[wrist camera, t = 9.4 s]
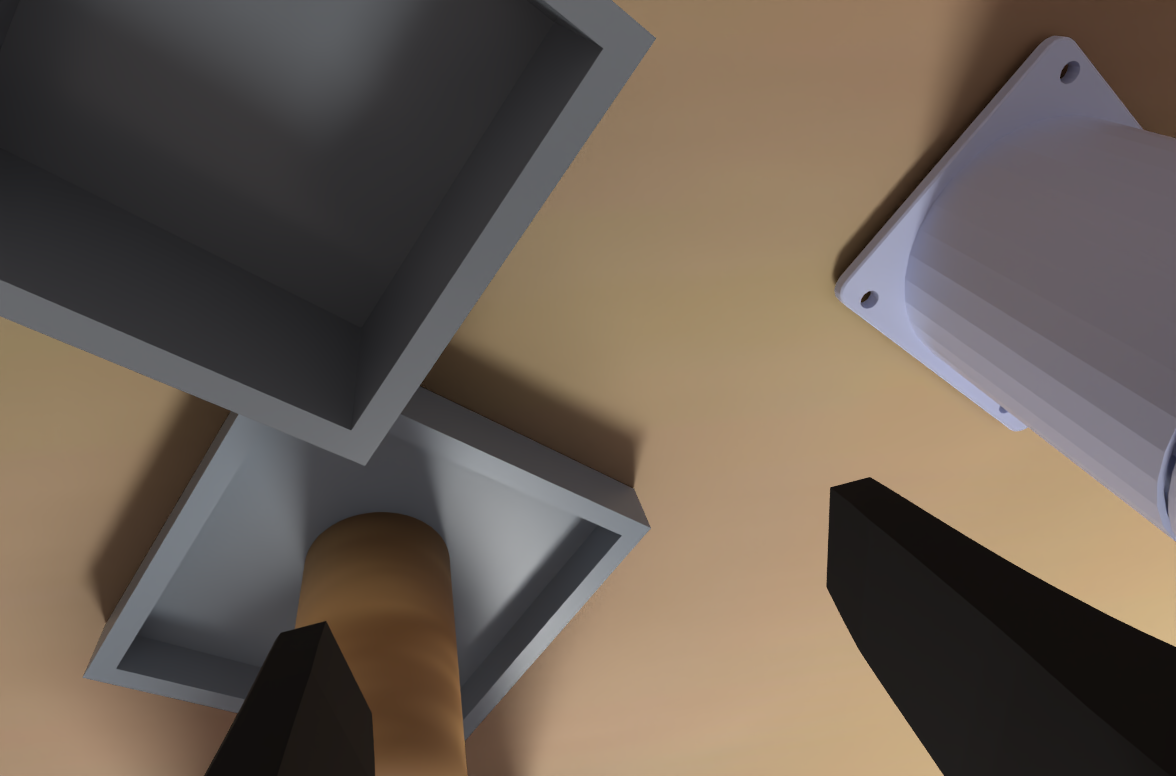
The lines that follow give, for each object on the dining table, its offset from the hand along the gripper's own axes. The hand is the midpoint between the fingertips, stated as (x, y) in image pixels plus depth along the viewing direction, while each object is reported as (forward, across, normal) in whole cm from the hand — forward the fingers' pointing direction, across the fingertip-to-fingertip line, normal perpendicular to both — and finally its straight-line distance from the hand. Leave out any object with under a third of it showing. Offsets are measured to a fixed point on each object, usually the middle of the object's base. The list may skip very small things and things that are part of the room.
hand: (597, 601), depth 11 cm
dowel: (+9, +5, +7) cm, 13 cm away
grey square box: (+10, +4, -6) cm, 12 cm away
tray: (+10, +5, +7) cm, 13 cm away
